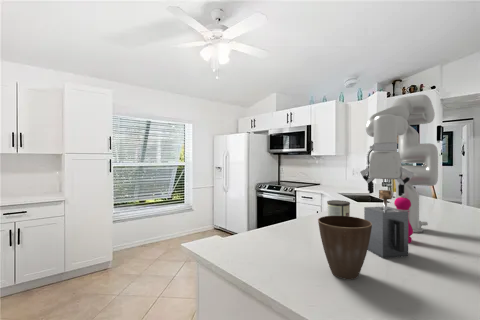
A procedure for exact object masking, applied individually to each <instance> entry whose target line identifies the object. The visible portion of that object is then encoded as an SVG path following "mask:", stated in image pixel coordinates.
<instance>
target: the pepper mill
mask: <svg viewBox="0 0 480 320" xmlns="http://www.w3.org/2000/svg"><path fill="white" fill-rule="evenodd" d="M404 197H405V195H404V194H403V195H402V196H400V197H399V198H397V199H396V198H395V200H394V202H393V203H394V206H395V208H396V207H397V208H396V209H400V210H404V211H408V214H409V213H410V212H409V211H410V210H409V208H410V207H411V202H410V200H409V199H407V198H404ZM413 234H414V233H413V229H412V226H411V224H410V222H409V218H408V244H410V243H412V241H413V239H412V238H413V237H411V236H412V235H413Z"/></svg>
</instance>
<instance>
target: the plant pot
mask: <svg viewBox="0 0 480 320" xmlns="http://www.w3.org/2000/svg"><path fill="white" fill-rule="evenodd" d="M317 222H318V223H317V224H318V228H319V229H318V230H319V234H320V239H321V245H322V246H323V247H322V248H323V251H324V255H325V257H326V261H327V263H328V265H329V266H328V267H329V269H330V271H331V273H332V274H333V276H335V277H337V278H340V279H343V280H355V279H357V278H358V277H359V275H360V273H361V271H362V268H363V265H364V264H365V259H366V256H367V253H368V245H369V241H370V235H371V229H372V223H371V222H370V221H368V220H365V219H364V218H361V217H356V216H351V215H350V216H328V215H326V216H322V217H321V216H320V217H318V219H317Z"/></svg>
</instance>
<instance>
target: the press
mask: <svg viewBox="0 0 480 320" xmlns="http://www.w3.org/2000/svg"><path fill="white" fill-rule="evenodd" d="M363 209H364V210H363V211H364V215H363V216H364V218H363V219H365V220H368V221H370V222H371V223H372V229H371V235H370V241H369V245H368V250H367V252H368V251H369V252H370V253H372V254H374V255H376V256H378V257H379V258H381V259H392V258H409V243H408V211H404V210H400V209H396V207H391V206H388V205H387V210H383V206H365V207H364V208H363Z"/></svg>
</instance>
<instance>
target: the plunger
mask: <svg viewBox="0 0 480 320" xmlns="http://www.w3.org/2000/svg"><path fill="white" fill-rule="evenodd" d="M392 194H393V193H392V190H391V189H390V190H389V189H379V190H378V199H380V200H383V203H382V204H383V206H382V207H383V210H387V206H388V200H392V199H393V198H392Z"/></svg>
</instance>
